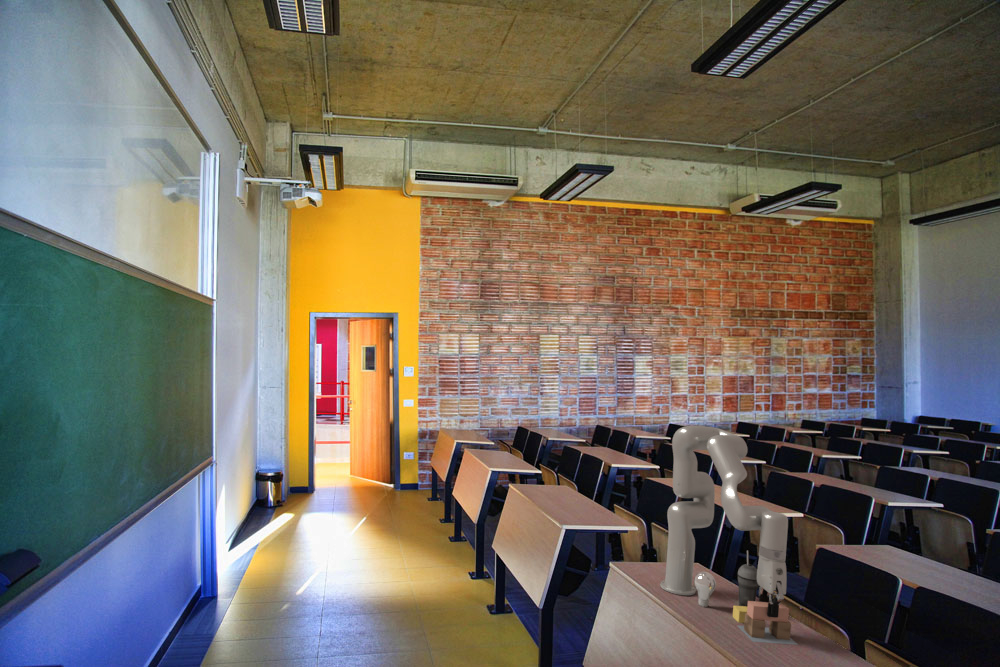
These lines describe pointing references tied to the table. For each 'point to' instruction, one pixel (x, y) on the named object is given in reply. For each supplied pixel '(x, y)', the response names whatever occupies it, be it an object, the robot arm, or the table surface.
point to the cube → (739, 613)
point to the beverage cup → (747, 583)
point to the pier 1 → (754, 627)
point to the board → (768, 638)
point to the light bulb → (704, 587)
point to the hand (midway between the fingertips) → (768, 612)
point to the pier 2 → (780, 629)
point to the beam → (760, 611)
